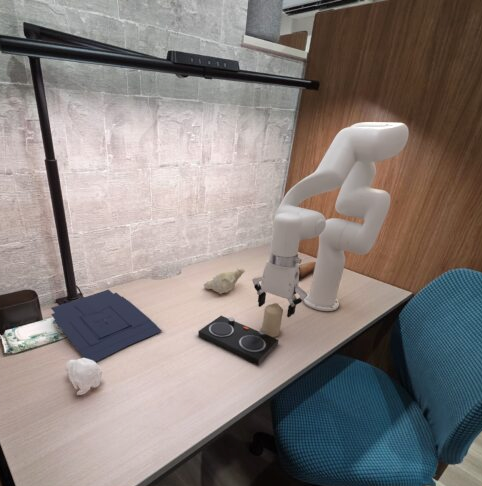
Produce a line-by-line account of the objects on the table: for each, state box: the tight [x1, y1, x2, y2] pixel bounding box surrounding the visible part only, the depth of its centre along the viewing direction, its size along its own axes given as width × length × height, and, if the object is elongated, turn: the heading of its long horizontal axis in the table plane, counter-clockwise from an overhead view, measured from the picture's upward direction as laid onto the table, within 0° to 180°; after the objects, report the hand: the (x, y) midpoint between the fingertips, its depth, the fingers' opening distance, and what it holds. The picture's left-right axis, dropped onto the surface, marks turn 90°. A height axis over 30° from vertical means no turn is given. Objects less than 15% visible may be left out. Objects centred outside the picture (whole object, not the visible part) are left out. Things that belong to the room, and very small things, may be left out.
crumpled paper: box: [65, 357, 103, 396], centre depth 76 cm, size 6×8×12 cm
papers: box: [50, 288, 163, 363], centre depth 100 cm, size 24×30×4 cm
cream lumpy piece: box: [203, 268, 246, 295], centre depth 124 cm, size 15×7×15 cm
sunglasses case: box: [298, 261, 316, 281], centre depth 143 cm, size 18×7×7 cm, turn 136°
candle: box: [261, 302, 284, 338], centre depth 98 cm, size 6×6×10 cm
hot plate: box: [197, 315, 279, 366], centre depth 95 cm, size 12×21×3 cm, turn 52°
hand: (275, 310), depth 97 cm, fingers open, 9 cm apart
